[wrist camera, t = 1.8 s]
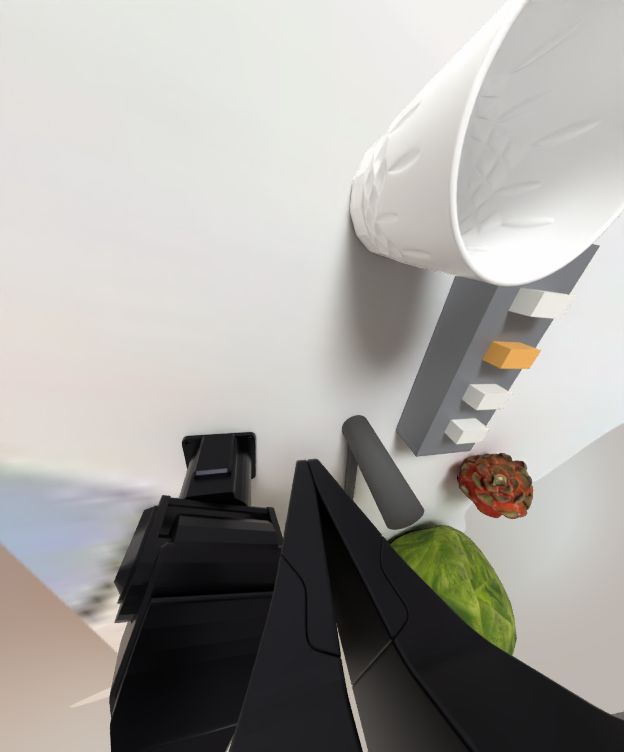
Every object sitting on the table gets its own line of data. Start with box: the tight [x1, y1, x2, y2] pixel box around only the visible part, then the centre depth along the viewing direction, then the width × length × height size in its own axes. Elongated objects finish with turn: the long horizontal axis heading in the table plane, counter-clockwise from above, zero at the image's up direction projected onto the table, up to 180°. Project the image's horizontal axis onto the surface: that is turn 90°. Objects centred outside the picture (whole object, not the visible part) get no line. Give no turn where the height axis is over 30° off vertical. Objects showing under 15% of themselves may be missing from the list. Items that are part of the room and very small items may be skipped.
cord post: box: [342, 415, 424, 530], centre depth 21 cm, size 3×3×10 cm
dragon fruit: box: [457, 453, 533, 519], centre depth 32 cm, size 8×8×12 cm
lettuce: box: [390, 525, 517, 655], centre depth 37 cm, size 18×23×19 cm
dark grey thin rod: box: [345, 447, 358, 500], centre depth 29 cm, size 11×1×1 cm, turn 1°
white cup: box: [350, 0, 624, 287], centre depth 11 cm, size 8×8×10 cm
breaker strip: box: [396, 244, 600, 457], centre depth 21 cm, size 20×7×6 cm, turn 173°
